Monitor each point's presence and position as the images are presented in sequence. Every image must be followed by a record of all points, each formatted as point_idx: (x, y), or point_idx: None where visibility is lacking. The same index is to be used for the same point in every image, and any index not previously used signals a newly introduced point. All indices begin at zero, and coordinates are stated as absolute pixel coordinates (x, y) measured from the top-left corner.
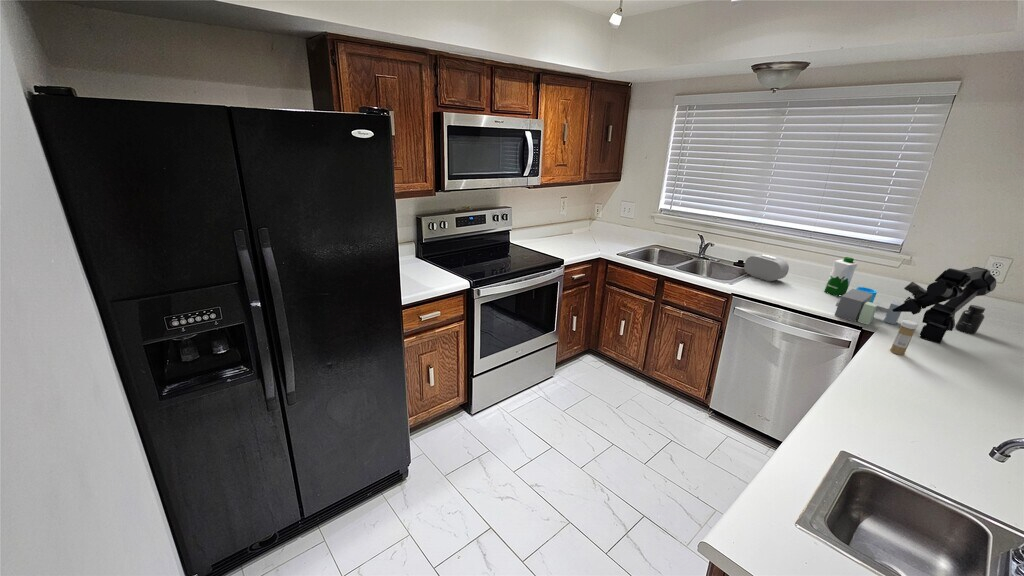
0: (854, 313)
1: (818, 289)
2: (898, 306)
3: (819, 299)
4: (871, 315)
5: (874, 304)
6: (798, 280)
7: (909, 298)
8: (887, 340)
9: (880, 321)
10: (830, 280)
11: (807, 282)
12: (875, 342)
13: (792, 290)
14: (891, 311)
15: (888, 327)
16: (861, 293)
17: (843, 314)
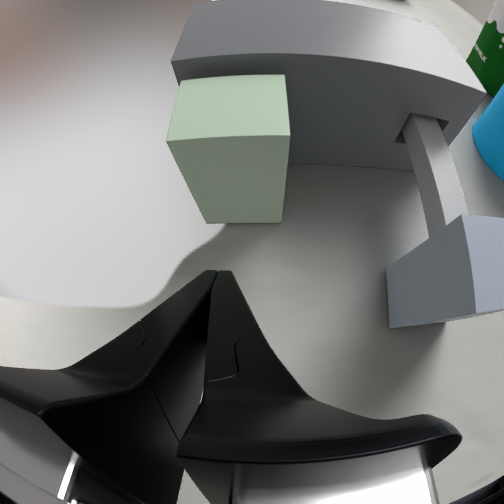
0: None
1: (465, 53)
2: (152, 312)
3: None
4: (190, 187)
5: (247, 117)
6: (463, 28)
7: (293, 482)
8: (57, 343)
9: (371, 256)
10: (482, 30)
11: None
12: (8, 303)
13: (364, 6)
14: (427, 265)
15: (295, 318)
16: (410, 41)
17: None
